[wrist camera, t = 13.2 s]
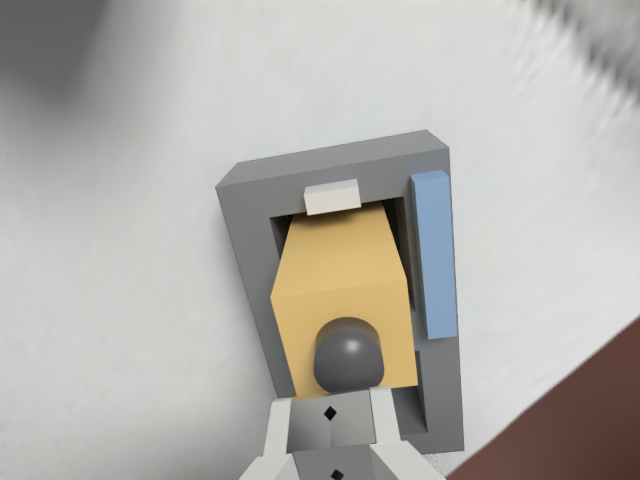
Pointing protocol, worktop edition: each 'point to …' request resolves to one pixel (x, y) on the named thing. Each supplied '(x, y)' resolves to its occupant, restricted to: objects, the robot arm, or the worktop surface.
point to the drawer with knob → (344, 303)
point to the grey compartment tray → (415, 249)
